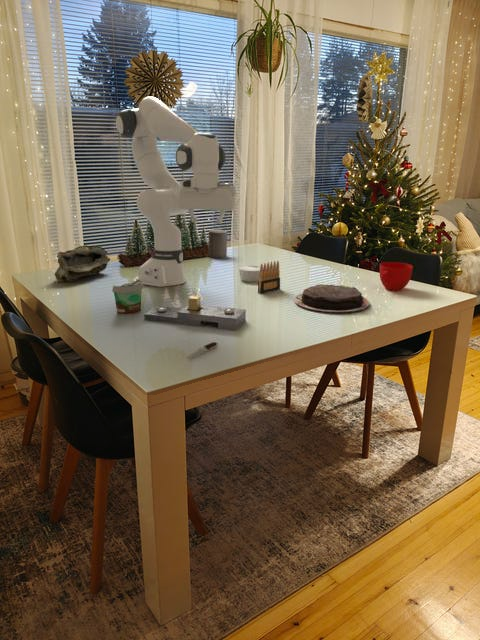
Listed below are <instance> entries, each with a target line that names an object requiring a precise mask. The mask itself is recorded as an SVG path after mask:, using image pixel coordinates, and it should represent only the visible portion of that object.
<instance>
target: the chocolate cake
mask: <svg viewBox="0 0 480 640" xmlns="http://www.w3.org/2000/svg"><path fill="white" fill-rule="evenodd" d="M362 295H363V294H362V292H361V291H360V290H359V289H357V288H356V287H354V286H353V287H351V286H346V285H342V284H341V285H335V284H332V283H331V284H316V285H313V286H309V287H307V288H305V289H303V292H302V293H299V294H296V295H295V296H294V297H293V301H294V303H295V304H296V305H297V306H299V307H302V308H304V309H306V311H313V312H314V311H315V312H321V313H322V312H323V313H324V314H334V315H335V314H336V315H337V314H339V315H340V314H341V315H342V314H343V315H344V314H352V313H354V312H359V313H360V312H362V311H363V310H365V309H366V310H367V309H368V307H369V306H370V303H371V302H370V301H369V300H368V299H367V298H365V297H364V296H362Z"/></svg>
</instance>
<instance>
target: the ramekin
mask: <svg viewBox="0 0 480 640" xmlns="http://www.w3.org/2000/svg"><path fill="white" fill-rule="evenodd" d="M260 266H261V265H241V266H240V267H238V271H239V277H240V279H241V281H243V282H246V283H258V280H259V274H260Z"/></svg>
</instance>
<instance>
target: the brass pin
mask: <svg viewBox="0 0 480 640" xmlns="http://www.w3.org/2000/svg"><path fill="white" fill-rule="evenodd" d="M187 299H188V302H187V303H188V304H189V311H197V312H199V311H200V310H201V305H202V304H201V296H200V295H191V296H189V297H188V298H187ZM188 304H187V305H188Z"/></svg>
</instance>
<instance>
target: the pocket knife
mask: <svg viewBox="0 0 480 640" xmlns="http://www.w3.org/2000/svg"><path fill="white" fill-rule="evenodd" d="M218 345H219V343H218V342H217V341H216V342H215V341H213V342H210V343H207V344H206V345H203V346H202V347H199V348H198V349H197V350H196V351H195V352H193V353H191V354H190V355H189V356H187V357H186V359H188V360H191V359H194V358H196V357H198V356H200V355H203V354H204V353H205V352H209V351H210V350H211V349H216V348H217V347H218Z"/></svg>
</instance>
